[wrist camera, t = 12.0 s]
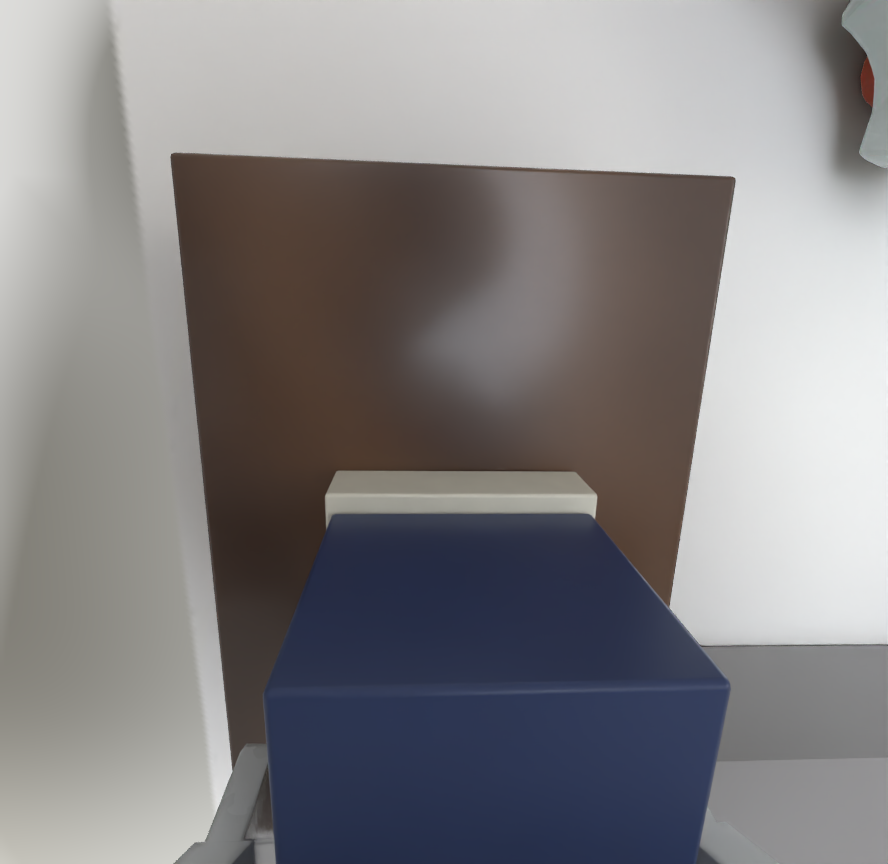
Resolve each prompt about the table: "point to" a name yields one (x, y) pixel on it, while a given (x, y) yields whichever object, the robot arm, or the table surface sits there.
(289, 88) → the table surface
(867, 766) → the desk organizer
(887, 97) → the tape dispenser
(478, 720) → the navy lidded box
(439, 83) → the table surface
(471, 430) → the brown wooden block
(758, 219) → the table surface
